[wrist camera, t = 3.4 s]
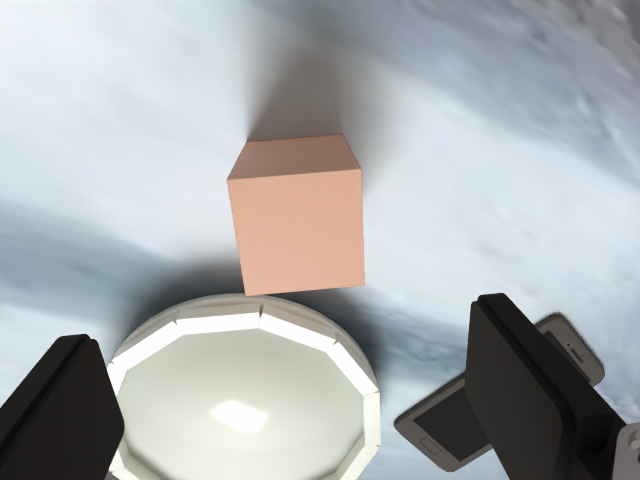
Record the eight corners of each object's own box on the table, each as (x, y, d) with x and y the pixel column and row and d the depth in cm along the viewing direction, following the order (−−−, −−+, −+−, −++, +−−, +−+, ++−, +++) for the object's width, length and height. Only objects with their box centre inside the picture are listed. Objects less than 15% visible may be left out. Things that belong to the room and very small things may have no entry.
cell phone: (388, 419, 31) (390, 427, 30) (554, 306, 28) (560, 312, 27) (445, 467, 34) (448, 476, 33) (603, 369, 30) (611, 376, 30)
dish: (373, 275, 26) (382, 298, 23) (377, 478, 33) (384, 511, 31) (71, 301, 25) (49, 328, 23) (144, 501, 33) (132, 536, 30)
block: (342, 134, 22) (361, 168, 16) (346, 223, 24) (364, 285, 18) (246, 141, 22) (226, 180, 16) (258, 230, 24) (245, 295, 18)
